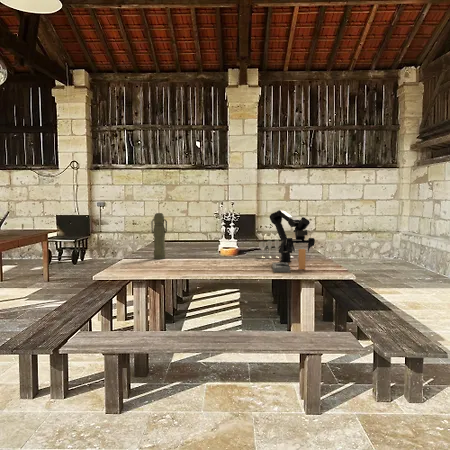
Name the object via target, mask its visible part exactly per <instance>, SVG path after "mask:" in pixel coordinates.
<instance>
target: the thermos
mask: <svg viewBox="0 0 450 450" xmlns="http://www.w3.org/2000/svg"><path fill="white" fill-rule="evenodd" d="M153 222H154V223H153ZM150 223H151V233H152V234H153V239H154V240H153V241H154V243H153V244H154V250H153V259H154V260H165V259H166V249H165V248H166V246H165V244H166V243H165V242H166V241H165V237H166V234H167V232H168V221H167V219H165V216H164V213H162V212H161V213H160V212H158V213H157V212H156V213H155V214H154V216H153V219H151V221H150Z"/></svg>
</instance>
